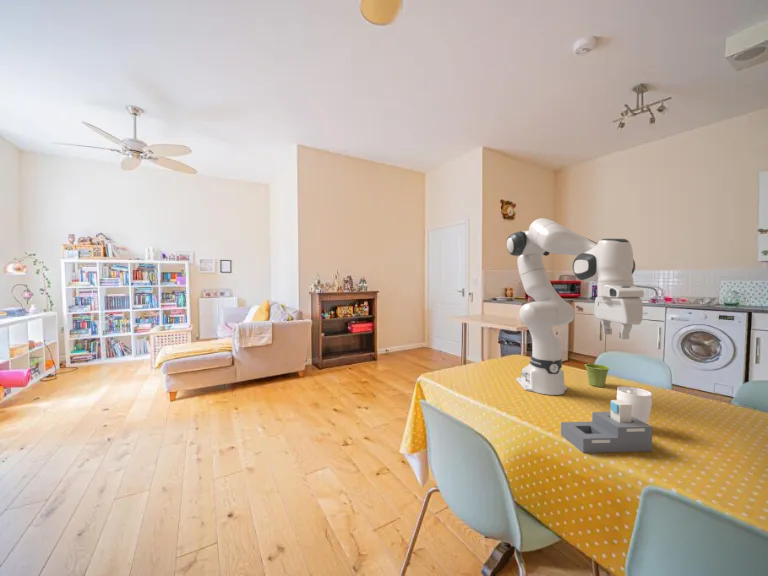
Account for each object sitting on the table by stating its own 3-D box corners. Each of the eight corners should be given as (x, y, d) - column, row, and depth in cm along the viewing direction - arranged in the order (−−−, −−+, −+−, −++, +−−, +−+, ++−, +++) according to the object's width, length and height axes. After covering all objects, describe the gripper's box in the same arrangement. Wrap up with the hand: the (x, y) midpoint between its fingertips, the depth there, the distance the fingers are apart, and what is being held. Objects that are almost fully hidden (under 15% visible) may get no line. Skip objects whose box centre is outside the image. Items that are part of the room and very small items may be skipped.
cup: (616, 418, 108) (617, 384, 107) (650, 426, 102) (651, 390, 102) (615, 427, 101) (616, 391, 100) (651, 436, 95) (652, 398, 95)
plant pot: (580, 381, 147) (580, 363, 147) (600, 381, 146) (600, 363, 146) (592, 388, 138) (592, 369, 137) (614, 388, 137) (614, 369, 137)
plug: (608, 429, 93) (609, 400, 93) (621, 429, 93) (621, 399, 93) (617, 435, 90) (618, 404, 90) (631, 435, 90) (631, 404, 90)
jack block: (560, 434, 96) (561, 412, 96) (622, 433, 97) (623, 411, 97) (583, 453, 86) (584, 428, 86) (652, 451, 87) (652, 426, 87)
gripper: (588, 290, 105) (588, 331, 104) (621, 291, 84) (622, 341, 84) (609, 290, 103) (609, 332, 103) (647, 291, 83) (648, 342, 83)
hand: (615, 336), depth 94 cm, fingers open, 8 cm apart
